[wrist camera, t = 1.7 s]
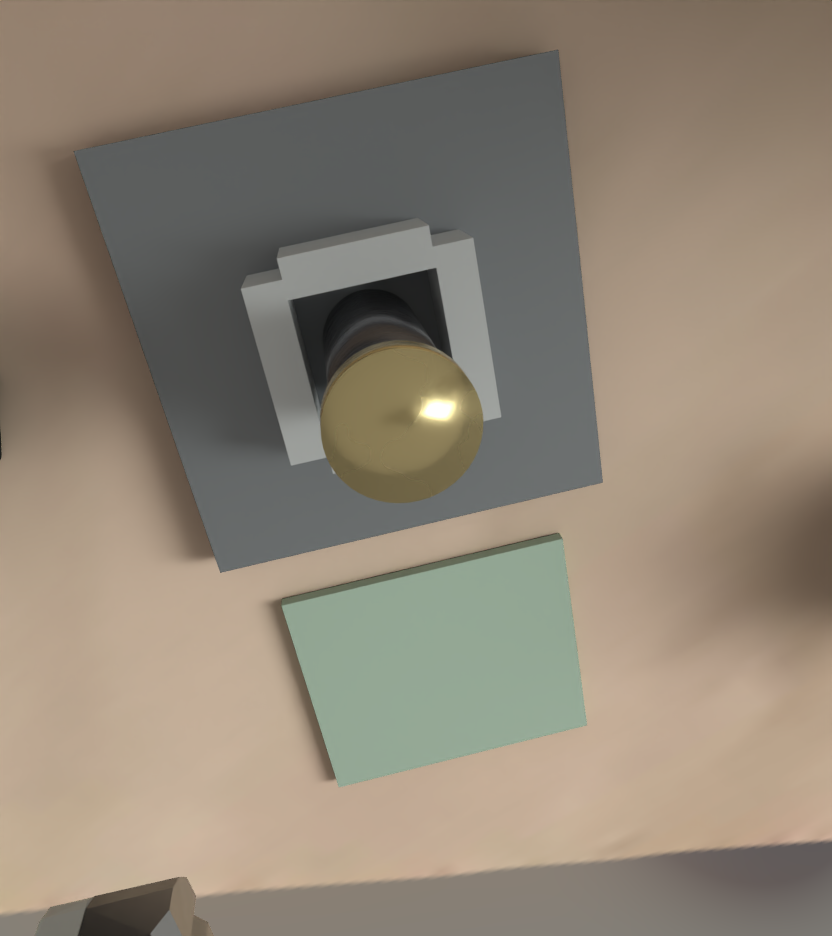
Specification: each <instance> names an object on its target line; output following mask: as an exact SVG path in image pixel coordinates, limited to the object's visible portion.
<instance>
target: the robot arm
mask: <svg viewBox="0 0 832 936" xmlns="http://www.w3.org/2000/svg"><path fill="white" fill-rule="evenodd" d="M195 901H196V895H195V893H194V891H193V889H192V887H191V885H190V883H189V881H188V879H187V877H177V878H172V879H168V880H163V881H159V882H155V883H150V884H146V885H141V886H137V887H133V888H128V889H124V890H119V891H115V892H111V893H106V894H102V895H98V896H94V897H91V898H87V899H83V900H79V901H74V902H70V903H66V904H61V905H57V906H53V907H50V908H49V909H48V911H47V912H46V913H45V915H44V916H43V917H42V919H41V920H40V922H39V924H38V927H37V930H36V933H35V935H34V936H214V935H213V933H212V931H211V928H210V926H209V924H208V922H207V921H205V920H203V919H201V918H199V917H197V916H195V915H194V908H195Z"/></svg>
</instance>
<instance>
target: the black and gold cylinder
mask: <svg viewBox="0 0 832 936" xmlns="http://www.w3.org/2000/svg"><path fill="white" fill-rule="evenodd" d="M323 345H324V356H325V367H326V378H327V387H326V390H325V392H324V395H323V399H322V403H321V409H320V428H321V440H322V445H323V449H324V452H325V455H326V458H327V460H328V462H329V464H330V466H331V467H332V469H333V470H334V472H335V473H336V474H337V475H338V477H339V478H340V479H341V480H342V481H343V482H344V483H345V484H347V485H348V486H349V487H350V488H352V489H353V490H355V491H356V492H358V493H360V494H362V495H364V496H366V497H368V498H371V499H374V500H377V501H382V502H388V503H409V502H415V501H420V500H423V499H427V498H430V497H432V496H434V495H436V494H439V493H440V492H442V491H444V490H445V489H447V488H448V487H450V486H451V485H452V484H454V483H455V482H456V481H457V480H458V479H459V478H460V477H461V476H462V475H463V474H464V473H465V472H466V470H467V469H468V468H469V466H470V465H471V463H472V462H473V460H474V458H475V456H476V454H477V452H478V449H479V446H480V443H481V439H482V434H483V411H482V407H481V403H480V399H479V397H478V394H477V392H476V390H475V388H474V387H473V385H472V383H471V382H470V380H469V379H468V377H467V376H466V374H465V373H464V372H463V370H462V369H461V368H460V366H459V365H458V364H457V363H456V362H455V361H454V360H453V359H452V358H451V357H449V356H448V355H447V354H445V353H444V352H442V351H440V350H439V349H437V348H436V347H435V345H434V344H433V342H432V340H431V339H430V337H429V336H428V334H427V333H426V331H425V329H424V328H423V326H422V325H421V323H420V322H419V320H418V318H417V317H416V315H415V314H414V312H413V311H412V309H411V308H410V307H409V305H408V304H407V303H406V302H405V301H404V300H402V299H401V298H400V297H398V296H397V295H395V294H393V293H391V292H388V291H385V290H380V289H364V290H359V291H356V292H353V293H351V294H349V295H347V296H346V297H344V298H343V299H341V300H340V301H339V302H338V303H337V304H336V305H335V306H334V307H333V309H332V310H331V312H330V313H329V315H328V317H327V320H326V322H325V326H324V330H323Z"/></svg>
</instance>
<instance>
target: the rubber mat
mask: <svg viewBox="0 0 832 936" xmlns="http://www.w3.org/2000/svg"><path fill="white" fill-rule="evenodd" d="M281 606H282V609H283V612H284V615H285V619H286V622H287V625H288V628H289V631H290V634H291V638H292V641H293V644H294V647H295V650H296V653H297V657H298V660H299V663H300V666H301V669H302V672H303V675H304V679H305V682H306V685H307V688H308V691H309V694H310V698H311V701H312V704H313V707H314V710H315V713H316V717H317V720H318V723H319V726H320V729H321V732H322V735H323V739H324V742H325V745H326V748H327V751H328V754H329V758H330V761H331V764H332V767H333V770H334V773H335V777H336V780H337V783H338V786H339V787H342V786H346V785H350V784H354V783H358V782H362V781H366V780H370V779H374V778H378V777H382V776H386V775H390V774H394V773H398V772H402V771H406V770H410V769H414V768H418V767H422V766H426V765H430V764H434V763H438V762H442V761H446V760H450V759H454V758H458V757H462V756H466V755H470V754H474V753H478V752H482V751H486V750H490V749H494V748H498V747H502V746H506V745H510V744H514V743H518V742H522V741H526V740H530V739H534V738H538V737H542V736H546V735H550V734H554V733H558V732H562V731H566V730H570V729H574V728H578V727H582V726H586V725H587V721H586V714H585V706H584V699H583V691H582V683H581V676H580V668H579V660H578V653H577V645H576V638H575V630H574V622H573V615H572V607H571V599H570V592H569V584H568V577H567V569H566V561H565V554H564V546H563V539H562V537H561V536H560V534H559V533H557V534H553V535H549V536H545V537H540V538H536V539H532V540H528V541H524V542H519V543H515V544H511V545H507V546H503V547H498V548H494V549H490V550H486V551H482V552H477V553H473V554H469V555H465V556H461V557H457V558H452V559H448V560H444V561H440V562H436V563H431V564H427V565H423V566H419V567H415V568H410V569H406V570H402V571H398V572H394V573H389V574H385V575H381V576H377V577H373V578H368V579H364V580H360V581H356V582H352V583H347V584H343V585H339V586H335V587H331V588H326V589H322V590H318V591H314V592H310V593H305V594H301V595H297V596H293V597H289V598H284V599H282V605H281Z"/></svg>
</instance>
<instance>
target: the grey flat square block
mask: <svg viewBox="0 0 832 936" xmlns="http://www.w3.org/2000/svg"><path fill="white" fill-rule="evenodd" d="M74 154H75V157H76V160H77V162H78V165H79V168H80V171H81V174H82V177H83V180H84V183H85V185H86V188H87V191H88V194H89V197H90V200H91V203H92V205H93V208H94V211H95V214H96V217H97V220H98V223H99V226H100V228H101V231H102V234H103V237H104V240H105V243H106V246H107V249H108V251H109V254H110V257H111V260H112V263H113V266H114V269H115V272H116V274H117V277H118V280H119V283H120V286H121V289H122V292H123V295H124V297H125V300H126V303H127V306H128V309H129V312H130V315H131V317H132V320H133V323H134V326H135V329H136V332H137V335H138V338H139V340H140V343H141V346H142V349H143V352H144V355H145V358H146V361H147V363H148V366H149V369H150V372H151V375H152V378H153V381H154V384H155V386H156V389H157V392H158V395H159V398H160V401H161V404H162V406H163V409H164V412H165V415H166V418H167V421H168V424H169V427H170V429H171V432H172V435H173V438H174V441H175V444H176V447H177V450H178V452H179V455H180V458H181V461H182V464H183V467H184V470H185V473H186V475H187V478H188V481H189V484H190V487H191V490H192V493H193V496H194V498H195V501H196V504H197V507H198V510H199V513H200V516H201V518H202V521H203V524H204V527H205V530H206V533H207V536H208V539H209V541H210V544H211V547H212V550H213V553H214V556H215V559H216V562H217V564H218V567H219V570H220V573H221V572H226V571H230V570H234V569H238V568H243V567H247V566H251V565H255V564H259V563H264V562H268V561H272V560H276V559H281V558H285V557H289V556H293V555H298V554H302V553H306V552H310V551H315V550H319V549H323V548H327V547H332V546H336V545H340V544H344V543H348V542H353V541H357V540H361V539H365V538H370V537H374V536H378V535H382V534H387V533H391V532H395V531H399V530H404V529H408V528H412V527H416V526H421V525H425V524H429V523H433V522H438V521H442V520H446V519H450V518H454V517H459V516H463V515H467V514H471V513H476V512H480V511H484V510H488V509H493V508H497V507H501V506H505V505H510V504H514V503H518V502H522V501H527V500H531V499H535V498H539V497H543V496H548V495H552V494H556V493H560V492H565V491H569V490H573V489H577V488H582V487H586V486H590V485H594V484H599V483H603V479H602V470H601V460H600V450H599V441H598V431H597V421H596V411H595V402H594V392H593V382H592V373H591V363H590V353H589V343H588V334H587V324H586V314H585V305H584V295H583V285H582V275H581V266H580V256H579V246H578V237H577V227H576V217H575V208H574V198H573V188H572V178H571V169H570V159H569V149H568V140H567V130H566V120H565V110H564V101H563V91H562V81H561V72H560V62H559V52H558V50H554V51H549V52H545V53H540V54H535V55H530V56H526V57H521V58H516V59H511V60H507V61H502V62H497V63H492V64H487V65H483V66H478V67H473V68H468V69H464V70H459V71H454V72H449V73H445V74H440V75H435V76H430V77H425V78H421V79H416V80H411V81H406V82H402V83H397V84H392V85H387V86H383V87H378V88H373V89H368V90H363V91H359V92H354V93H349V94H344V95H340V96H335V97H330V98H325V99H320V100H316V101H311V102H306V103H301V104H297V105H292V106H287V107H282V108H278V109H273V110H268V111H263V112H258V113H254V114H249V115H244V116H239V117H235V118H230V119H225V120H220V121H216V122H211V123H206V124H201V125H196V126H192V127H187V128H182V129H177V130H173V131H168V132H163V133H158V134H154V135H149V136H144V137H139V138H134V139H130V140H125V141H120V142H115V143H111V144H106V145H101V146H96V147H92V148H87V149H82V150H77V151H74ZM364 289H380V290H385V291H388V292H391V293H393V294H395V295H397V296H398V297H400V298H401V299H402V300H404V301H405V302H406V303H407V304H408V305H409V307H410V308H411V309H412V311H413V312H414V314H415V315H416V317H417V318H418V320H419V322H420V323H421V325H422V326H423V328H424V329H425V331H426V333H427V334H428V336H429V337H430V339H431V340H432V342H433V344H434V345H435V347H436V348H437V349H439V350H440V351H442V352H444V353H445V354H447V355H448V356H449V357H451V358H452V359H453V360H454V361H455V362H456V363H457V364H458V365H459V366H460V368H461V369H462V370H463V372H464V373H465V374H466V376H467V377H468V379H469V380H470V382H471V383H472V385H473V387H474V388H475V390H476V392H477V394H478V397H479V399H480V403H481V407H482V411H483V434H482V439H481V443H480V446H479V449H478V452H477V454H476V456H475V458H474V460H473V462H472V463H471V465H470V466H469V468H468V469H467V470H466V472H465V473H464V474H463V475H462V476H461V477H460V478H459V479H458V480H457V481H456V482H455V483H454V484H452V485H451V486H450V487H448V488H447V489H445V490H444V491H442V492H440V493H439V494H436V495H434V496H432V497H430V498H427V499H423V500H420V501H415V502H409V503H388V502H382V501H377V500H374V499H371V498H368V497H366V496H364V495H362V494H360V493H358V492H356V491H355V490H353V489H352V488H350V487H349V486H348V485H347V484H345V483H344V482H343V481H342V480H341V479H340V478H339V477H338V475H337V474H336V473H335V472H334V470H333V469H332V467H331V466H330V464H329V462H328V460H327V458H326V455H325V452H324V449H323V445H322V440H321V428H320V409H321V403H322V399H323V395H324V392H325V390H326V387H327V378H326V367H325V356H324V345H323V330H324V326H325V322H326V320H327V317H328V315H329V313H330V312H331V310H332V309H333V307H334V306H335V305H336V304H337V303H338V302H339V301H340V300H341V299H343V298H344V297H346V296H347V295H349V294H351V293H353V292H356V291H359V290H364Z"/></svg>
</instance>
